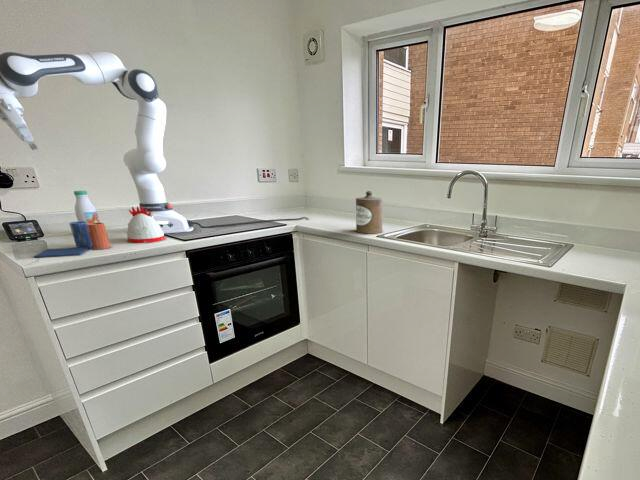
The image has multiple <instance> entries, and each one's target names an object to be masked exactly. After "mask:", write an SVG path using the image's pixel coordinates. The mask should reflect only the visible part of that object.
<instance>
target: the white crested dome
mask: <svg viewBox="0 0 640 480" xmlns="http://www.w3.org/2000/svg"><path fill="white" fill-rule="evenodd" d="M128 212H129V213H130V215H132V216H133V217H131V219H130V220H129V222H128V223H127V232H126V237H127V241H128V243H132V244H147V243H154V242H155V243H156V242H161V241H164V240H165V239H166V237H165V234H164V233H163V231H162V229H161V228H160V226H159V224H158V223H157V222H156V221H155V220H154V219H153V218H152V217H150V215H151V211H150V213H149V214H147V209H145V211H144V210H143V208H142V206H141V211H140V207H139V206H136V208H135V207H134V206H131V209H128Z"/></svg>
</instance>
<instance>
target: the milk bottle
mask: <svg viewBox="0 0 640 480" xmlns="http://www.w3.org/2000/svg"><path fill="white" fill-rule="evenodd" d="M73 194H74V197H75V204H74V212H75V217H76V220H77V222H78V221H86V222H88V223H98V222H99V223H101V222H100V218H99V215H98V211H97V209H96V207H95V205H94V204H93V203H92V202H91V200H90V198H89V195H88V191H87V190H74V191H73Z"/></svg>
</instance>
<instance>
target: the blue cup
mask: <svg viewBox="0 0 640 480" xmlns="http://www.w3.org/2000/svg"><path fill="white" fill-rule="evenodd" d="M68 224H69V228H70V231H71V234H72V238H73V240H74V244H75V246H76V247H75V248H79V247H90V248H93V247H92V244H91V240H90V237H89V233H88V230H87V226H86V224H88V222H86V221H78V220H77V221H70V222H68Z"/></svg>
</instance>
